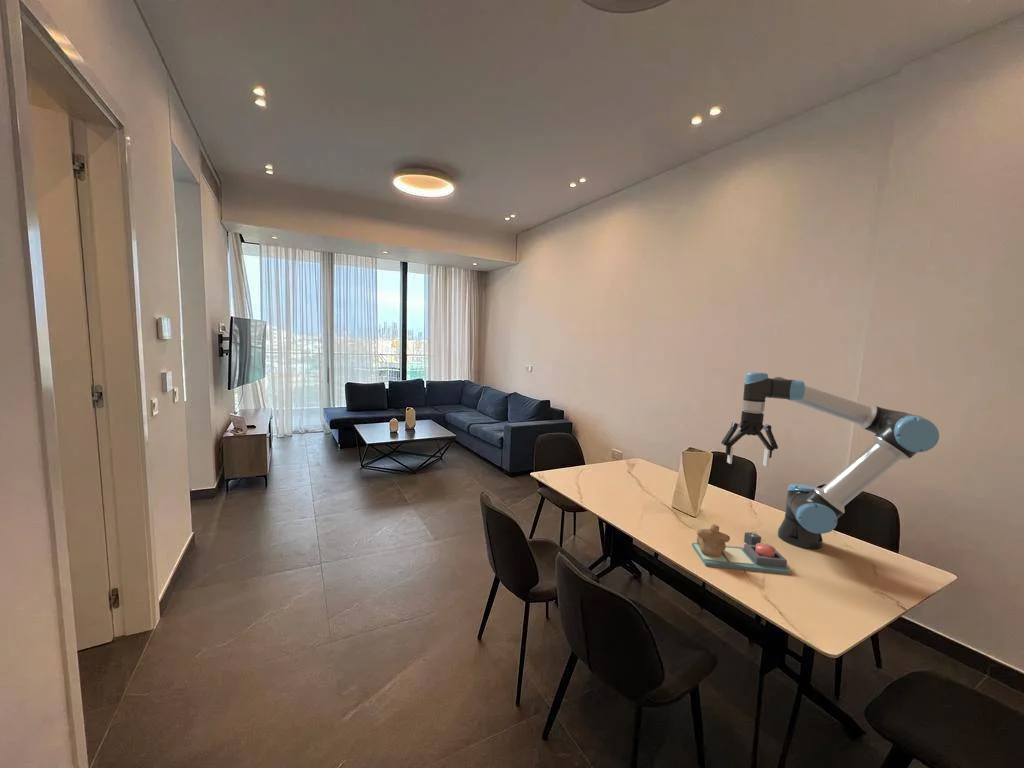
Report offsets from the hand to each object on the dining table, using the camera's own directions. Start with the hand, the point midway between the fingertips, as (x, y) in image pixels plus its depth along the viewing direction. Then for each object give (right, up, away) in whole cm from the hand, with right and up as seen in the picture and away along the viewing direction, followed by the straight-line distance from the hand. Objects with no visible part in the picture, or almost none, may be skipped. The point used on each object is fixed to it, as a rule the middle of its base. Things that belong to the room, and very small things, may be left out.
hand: (747, 464), depth 163 cm
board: (-10, -33, -12) cm, 36 cm away
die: (+2, -32, +1) cm, 32 cm away
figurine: (-20, -31, -11) cm, 38 cm away
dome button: (-1, -32, -13) cm, 34 cm away
